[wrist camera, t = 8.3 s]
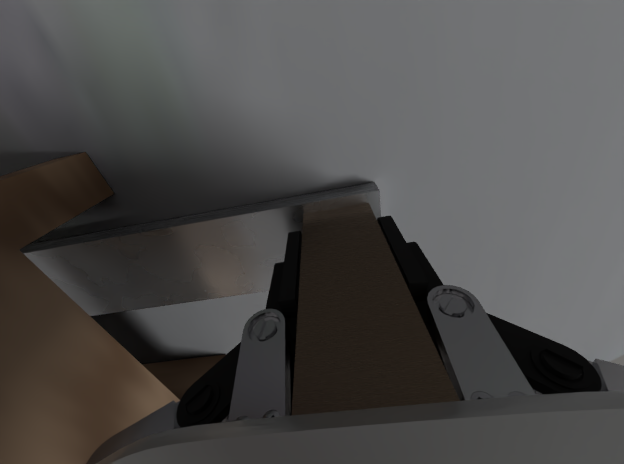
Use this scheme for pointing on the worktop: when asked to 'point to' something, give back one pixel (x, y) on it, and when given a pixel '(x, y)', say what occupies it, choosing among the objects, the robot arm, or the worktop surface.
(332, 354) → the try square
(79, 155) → the cabinet
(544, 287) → the worktop surface
